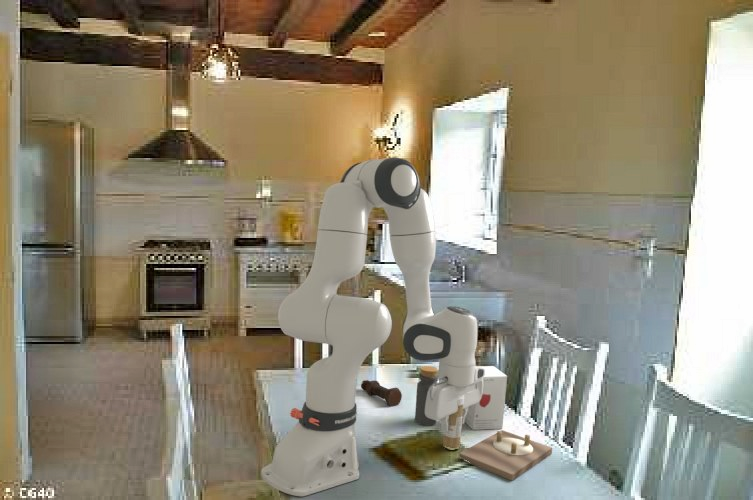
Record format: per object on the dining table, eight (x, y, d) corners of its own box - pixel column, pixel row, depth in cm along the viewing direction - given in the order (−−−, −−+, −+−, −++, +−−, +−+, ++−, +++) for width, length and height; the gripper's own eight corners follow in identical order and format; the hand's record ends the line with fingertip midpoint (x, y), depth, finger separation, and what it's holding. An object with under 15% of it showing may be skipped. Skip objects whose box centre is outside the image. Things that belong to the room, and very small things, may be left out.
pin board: (512, 480, 130) (513, 463, 129) (459, 459, 139) (460, 443, 139) (551, 453, 145) (553, 438, 144) (501, 435, 154) (502, 420, 153)
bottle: (435, 427, 157) (438, 372, 155) (413, 424, 158) (416, 370, 157) (437, 419, 163) (440, 366, 161) (416, 416, 164) (419, 364, 162)
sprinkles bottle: (438, 446, 145) (441, 394, 144) (450, 441, 148) (453, 390, 147) (452, 453, 142) (456, 399, 141) (464, 448, 145) (468, 395, 144)
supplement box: (472, 430, 156) (476, 376, 154) (460, 417, 165) (463, 365, 163) (503, 429, 158) (508, 375, 157) (489, 416, 167) (493, 365, 165)
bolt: (365, 396, 183) (396, 410, 171) (354, 390, 180) (385, 404, 168) (373, 378, 184) (404, 391, 173) (362, 373, 182) (393, 385, 170)
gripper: (442, 385, 133) (438, 443, 135) (489, 368, 149) (484, 420, 150) (420, 378, 138) (416, 435, 139) (467, 362, 153) (464, 413, 154)
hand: (452, 427), depth 145 cm, fingers open, 5 cm apart
